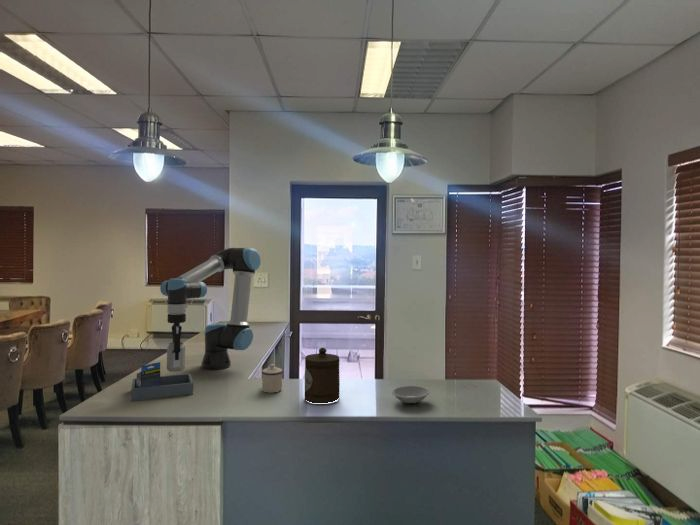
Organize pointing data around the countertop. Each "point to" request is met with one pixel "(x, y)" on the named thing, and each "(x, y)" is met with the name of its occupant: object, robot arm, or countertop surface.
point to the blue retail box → (149, 376)
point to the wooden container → (322, 377)
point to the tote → (164, 388)
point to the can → (170, 358)
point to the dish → (410, 393)
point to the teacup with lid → (272, 379)
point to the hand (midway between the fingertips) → (176, 364)
